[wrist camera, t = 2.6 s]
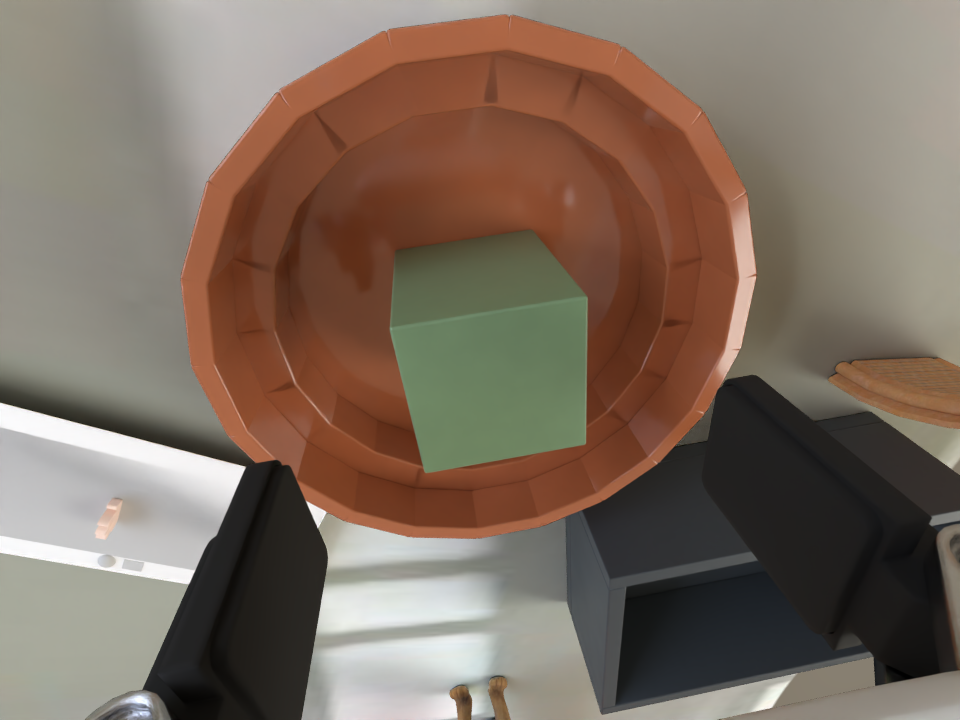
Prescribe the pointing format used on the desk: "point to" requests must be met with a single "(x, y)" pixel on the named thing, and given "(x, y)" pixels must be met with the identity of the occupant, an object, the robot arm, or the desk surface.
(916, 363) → the arch
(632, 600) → the bin
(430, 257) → the block
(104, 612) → the desk surface
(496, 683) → the lion figurine
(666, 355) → the bowl
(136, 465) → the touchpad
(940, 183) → the desk surface
